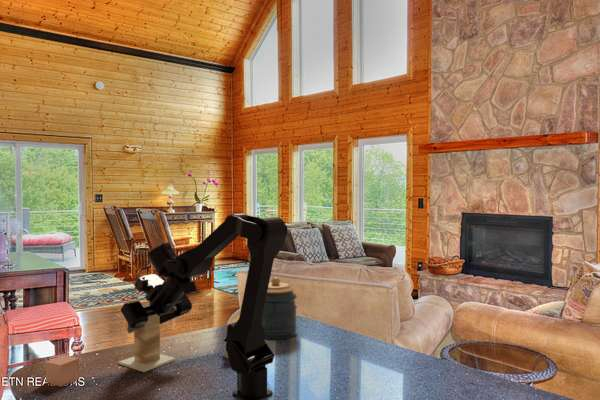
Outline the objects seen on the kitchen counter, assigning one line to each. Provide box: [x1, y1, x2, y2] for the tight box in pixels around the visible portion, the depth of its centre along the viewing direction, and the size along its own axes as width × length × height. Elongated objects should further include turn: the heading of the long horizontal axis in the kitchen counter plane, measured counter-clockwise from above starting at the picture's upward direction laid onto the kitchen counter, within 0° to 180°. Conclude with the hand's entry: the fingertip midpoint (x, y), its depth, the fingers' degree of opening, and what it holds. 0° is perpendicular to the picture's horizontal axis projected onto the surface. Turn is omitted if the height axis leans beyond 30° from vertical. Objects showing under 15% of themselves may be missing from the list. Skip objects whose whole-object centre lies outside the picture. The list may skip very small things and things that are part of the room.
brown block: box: [133, 302, 161, 364], centre depth 128 cm, size 5×5×14 cm
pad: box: [118, 353, 176, 373], centre depth 128 cm, size 10×10×1 cm
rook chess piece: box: [222, 325, 229, 360], centre depth 133 cm, size 4×4×8 cm
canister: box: [262, 276, 298, 341], centre depth 152 cm, size 13×13×18 cm
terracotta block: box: [45, 355, 80, 387], centre depth 116 cm, size 5×5×5 cm
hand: (143, 327), depth 129 cm, fingers open, 9 cm apart
